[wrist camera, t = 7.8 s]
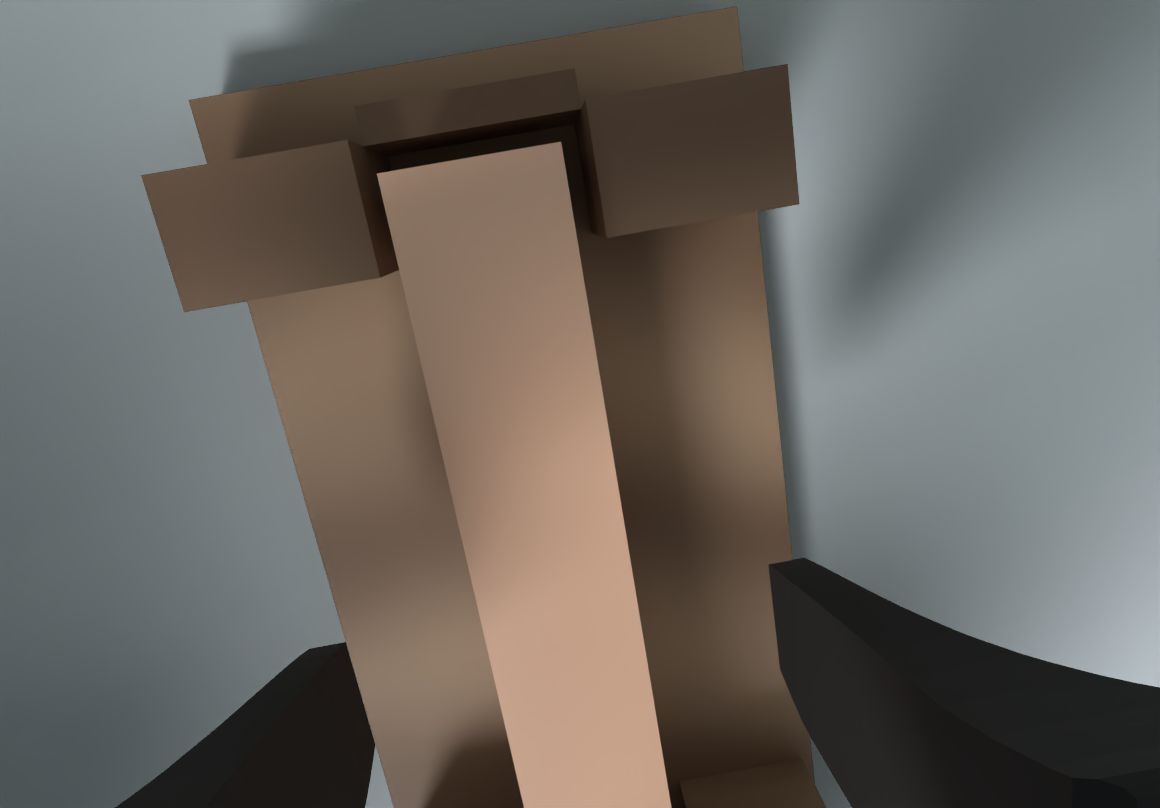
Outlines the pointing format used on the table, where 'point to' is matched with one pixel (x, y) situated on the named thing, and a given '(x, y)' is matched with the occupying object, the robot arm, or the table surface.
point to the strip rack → (624, 353)
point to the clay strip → (531, 468)
